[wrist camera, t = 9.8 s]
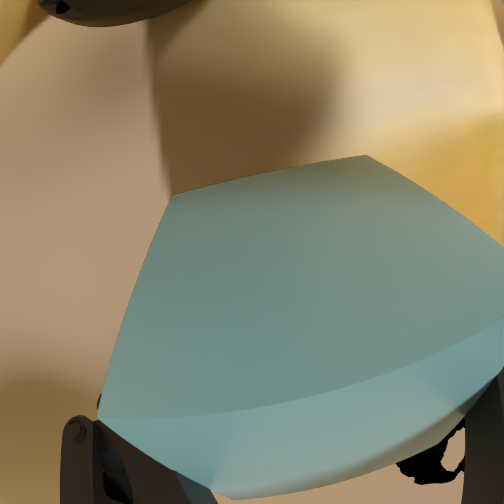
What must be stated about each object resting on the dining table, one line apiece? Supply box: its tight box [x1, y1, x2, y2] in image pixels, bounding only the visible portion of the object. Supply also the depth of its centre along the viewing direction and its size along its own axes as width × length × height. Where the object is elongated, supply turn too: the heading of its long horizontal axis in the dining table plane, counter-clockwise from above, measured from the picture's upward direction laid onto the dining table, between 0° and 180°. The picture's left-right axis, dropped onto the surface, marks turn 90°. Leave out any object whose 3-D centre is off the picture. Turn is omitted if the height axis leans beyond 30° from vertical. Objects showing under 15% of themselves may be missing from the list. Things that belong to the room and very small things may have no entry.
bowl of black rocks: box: [395, 416, 465, 485], centre depth 29 cm, size 20×20×19 cm
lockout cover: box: [97, 155, 504, 500], centre depth 9 cm, size 8×8×9 cm
